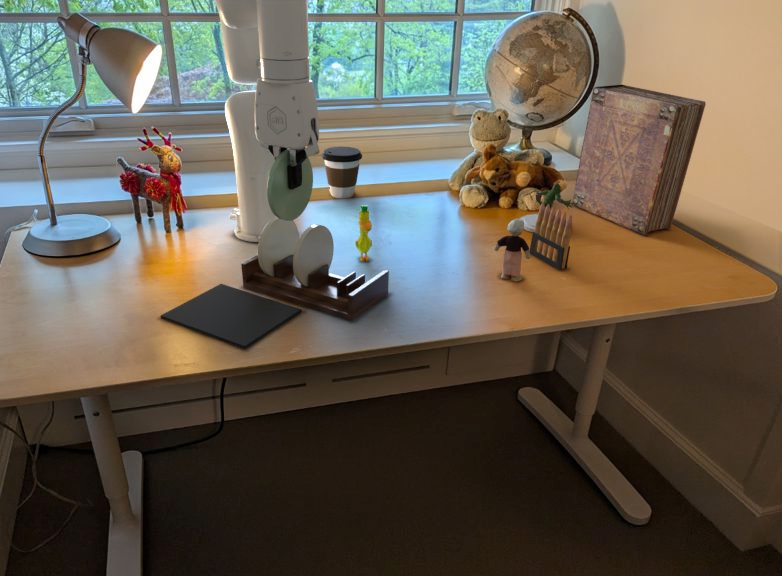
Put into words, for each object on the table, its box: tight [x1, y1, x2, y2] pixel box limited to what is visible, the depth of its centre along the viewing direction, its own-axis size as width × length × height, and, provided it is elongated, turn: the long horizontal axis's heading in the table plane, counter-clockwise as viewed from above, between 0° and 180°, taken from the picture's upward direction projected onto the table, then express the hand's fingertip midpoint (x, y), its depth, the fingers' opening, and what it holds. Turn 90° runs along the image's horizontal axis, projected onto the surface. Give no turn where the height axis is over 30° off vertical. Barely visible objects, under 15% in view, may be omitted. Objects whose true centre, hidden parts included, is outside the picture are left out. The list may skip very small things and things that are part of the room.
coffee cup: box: [321, 146, 363, 199], centre depth 175 cm, size 11×11×12 cm
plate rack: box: [240, 254, 390, 323], centre depth 126 cm, size 26×13×5 cm, turn 58°
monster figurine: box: [519, 182, 573, 233], centre depth 157 cm, size 12×12×10 cm
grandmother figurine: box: [493, 218, 532, 283], centre depth 130 cm, size 8×4×13 cm, turn 71°
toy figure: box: [354, 204, 373, 263], centre depth 137 cm, size 7×4×12 cm, turn 13°
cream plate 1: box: [257, 217, 300, 277], centre depth 127 cm, size 1×12×12 cm, turn 149°
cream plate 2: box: [293, 224, 335, 287], centre depth 123 cm, size 1×12×12 cm, turn 149°
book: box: [571, 84, 707, 237], centre depth 158 cm, size 25×9×30 cm, turn 28°
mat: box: [160, 283, 303, 350], centre depth 118 cm, size 20×16×1 cm
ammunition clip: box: [529, 201, 573, 271], centre depth 138 cm, size 11×2×12 cm, turn 26°
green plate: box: [267, 149, 314, 221], centre depth 110 cm, size 1×12×12 cm, turn 150°
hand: (290, 185), depth 110 cm, fingers closed on green plate, 1 cm apart
